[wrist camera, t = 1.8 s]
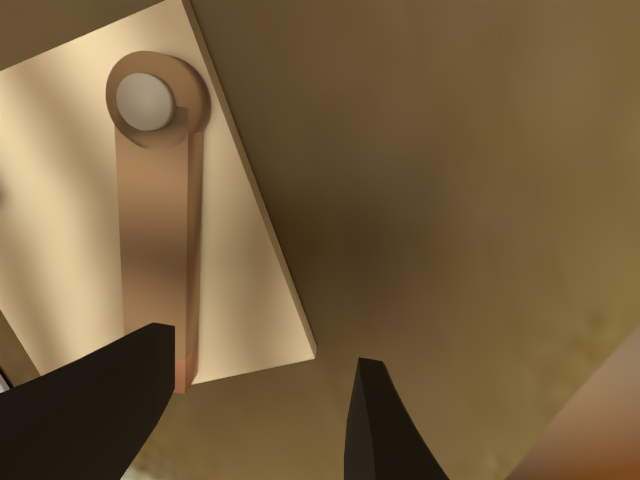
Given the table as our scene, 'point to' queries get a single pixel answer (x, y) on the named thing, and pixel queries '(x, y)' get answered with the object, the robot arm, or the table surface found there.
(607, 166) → the table surface
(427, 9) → the table surface
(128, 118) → the link
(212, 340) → the latch board
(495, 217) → the table surface
